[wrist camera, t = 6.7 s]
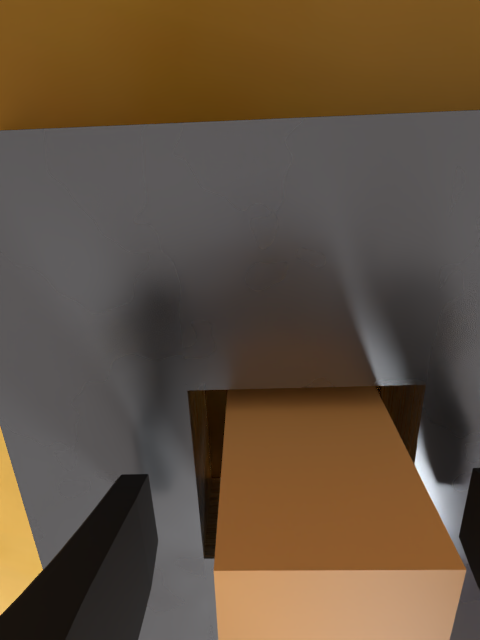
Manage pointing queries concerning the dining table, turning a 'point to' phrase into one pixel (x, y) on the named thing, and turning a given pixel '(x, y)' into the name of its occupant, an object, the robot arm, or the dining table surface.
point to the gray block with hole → (232, 311)
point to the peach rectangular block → (327, 524)
